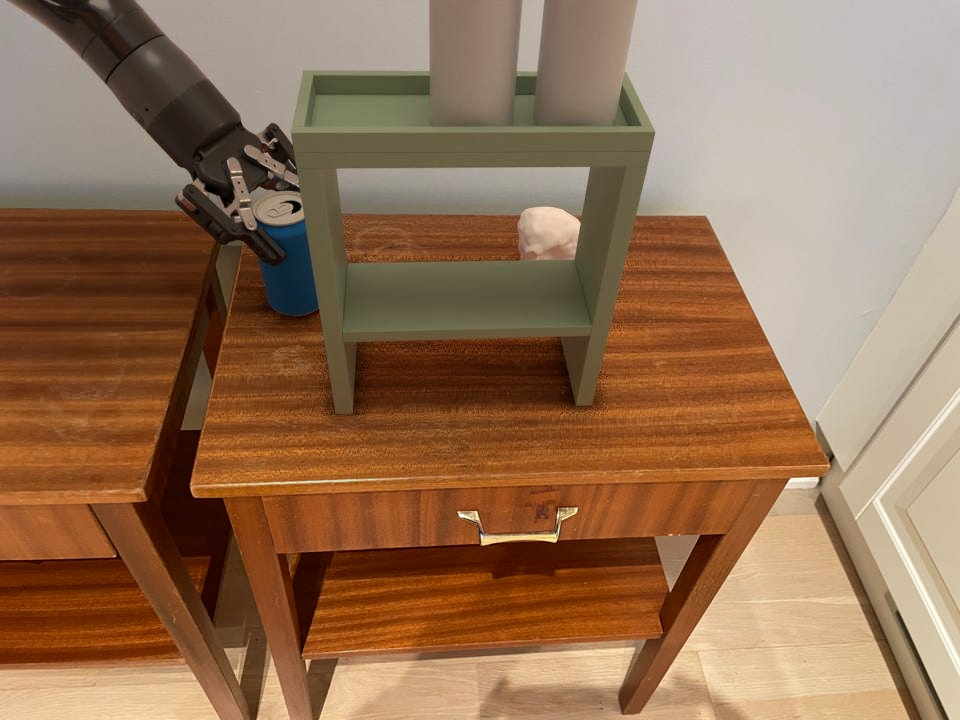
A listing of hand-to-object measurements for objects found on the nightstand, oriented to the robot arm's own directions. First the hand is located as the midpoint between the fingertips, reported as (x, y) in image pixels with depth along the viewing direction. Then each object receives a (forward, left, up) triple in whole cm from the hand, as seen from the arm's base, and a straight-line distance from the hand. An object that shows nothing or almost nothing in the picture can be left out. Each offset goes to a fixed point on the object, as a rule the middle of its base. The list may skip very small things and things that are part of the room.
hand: (301, 241), depth 72 cm
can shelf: (+9, -17, +18) cm, 26 cm away
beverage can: (-1, +1, -9) cm, 9 cm away
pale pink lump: (+27, -9, -9) cm, 30 cm away
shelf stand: (+9, -17, -8) cm, 21 cm away
